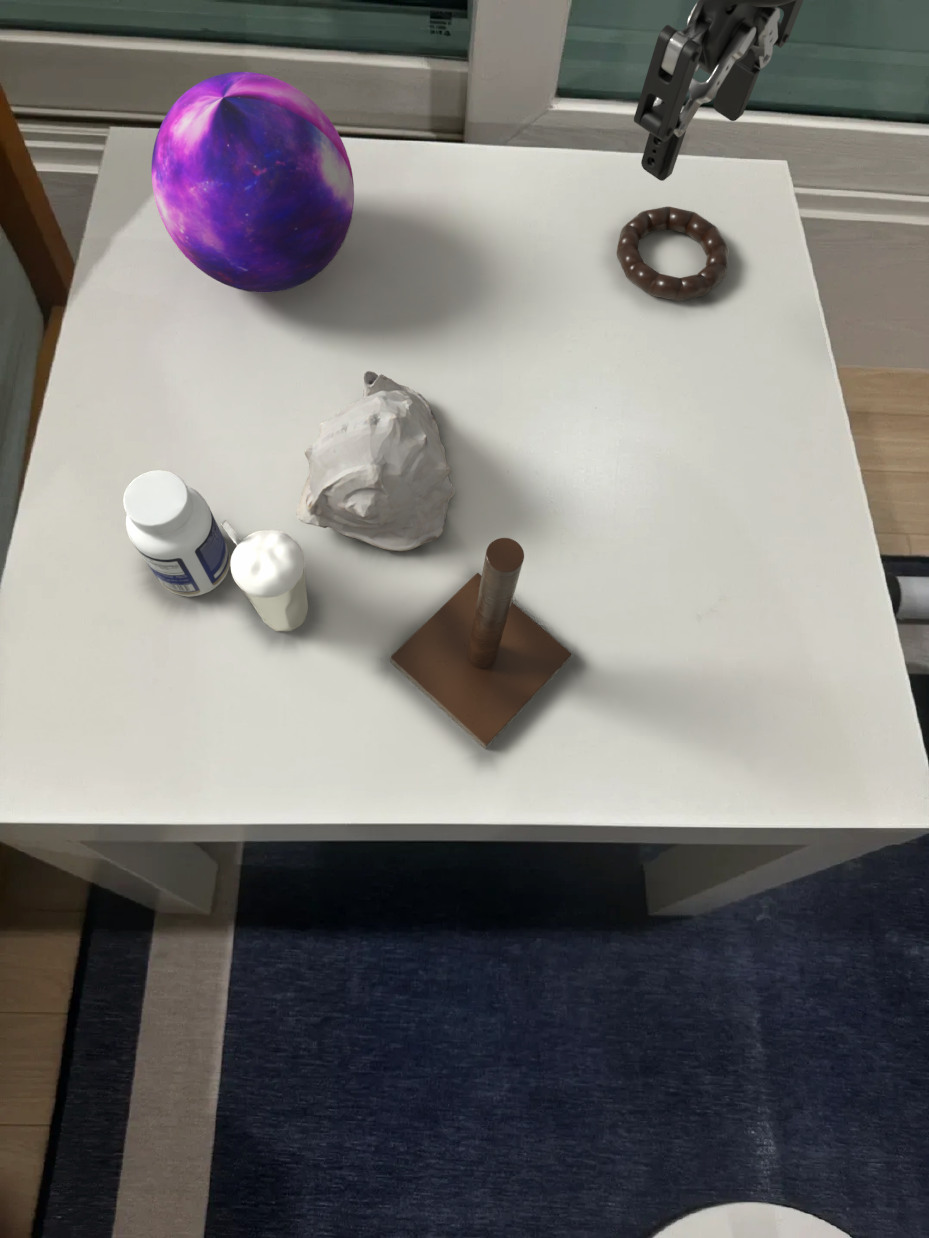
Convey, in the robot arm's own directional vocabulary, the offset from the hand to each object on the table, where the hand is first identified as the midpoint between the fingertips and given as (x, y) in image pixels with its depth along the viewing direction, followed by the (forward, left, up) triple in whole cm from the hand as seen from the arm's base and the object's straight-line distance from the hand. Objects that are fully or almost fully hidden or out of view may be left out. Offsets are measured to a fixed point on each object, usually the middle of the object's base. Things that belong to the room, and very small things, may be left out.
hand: (691, 142), depth 61 cm
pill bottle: (+44, -7, -14) cm, 47 cm away
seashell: (+30, -3, -14) cm, 33 cm away
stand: (+35, +13, -14) cm, 40 cm away
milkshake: (+42, 0, -14) cm, 44 cm away
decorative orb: (+21, -24, -14) cm, 35 cm away
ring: (-4, 0, -13) cm, 14 cm away
